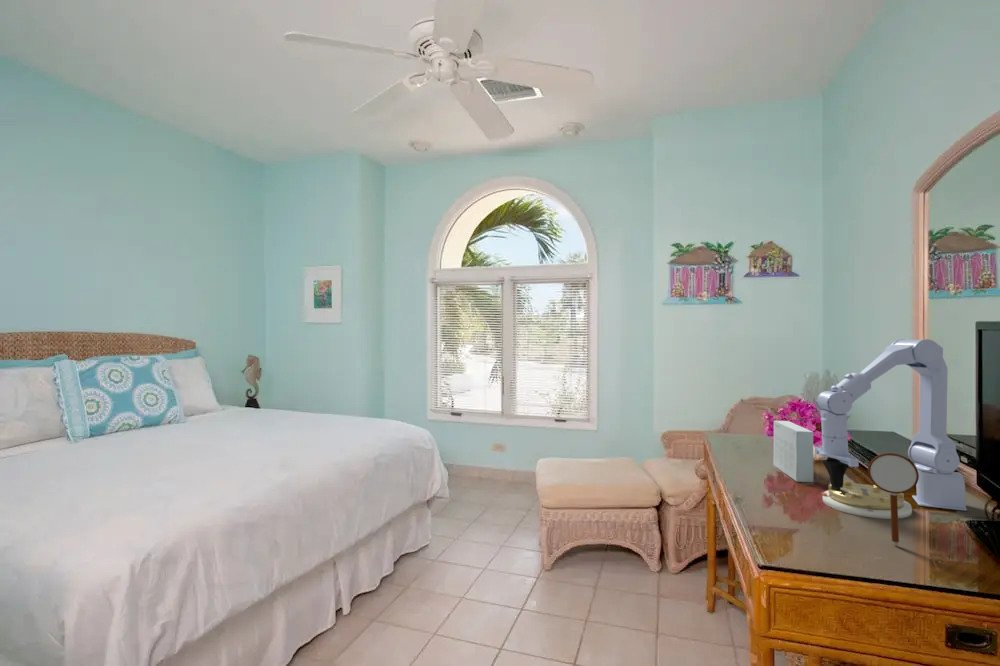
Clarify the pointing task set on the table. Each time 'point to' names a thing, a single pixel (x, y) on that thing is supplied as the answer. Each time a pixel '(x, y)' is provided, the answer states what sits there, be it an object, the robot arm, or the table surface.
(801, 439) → the skincare box
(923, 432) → the robot arm
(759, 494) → the table surface
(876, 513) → the disc
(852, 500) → the brass round mechanism
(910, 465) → the magnifying glass
